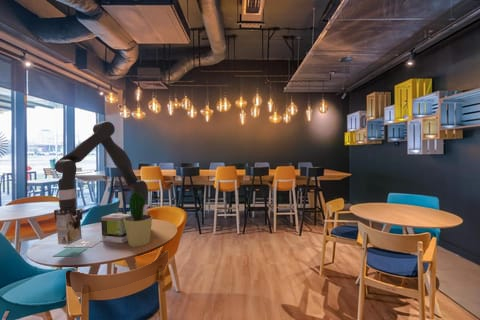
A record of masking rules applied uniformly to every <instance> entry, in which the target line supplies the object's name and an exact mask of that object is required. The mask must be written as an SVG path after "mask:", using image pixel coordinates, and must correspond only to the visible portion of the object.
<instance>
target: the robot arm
mask: <svg viewBox="0 0 480 320" xmlns="http://www.w3.org/2000/svg"><path fill="white" fill-rule="evenodd" d="M115 130H116V129H115V125H114V124H113V123H112V122H110V121H101V122H98V123H96V124H94V125H93V128H92V131H93V134H91V135H90V136H89V137H88V138H86V139H85V140H83V141H81V142H80V143H79V144H78V145H77V146H75V147H74V148H73V149H72V150H71V151H70V152H68V153H67V154H65V155H63V156H62V157H60V159H58V160H57V161H56V162H55V164H54V170H55V172H57V173H59V174H61V175H62V176H61V178H60V179H58V207H59V208H57V209H54V211H53V212H54V220H55V222H57V221H56V214H58V213H65V212H67V213H71V212H72V213H73V214H74V212H76V213H77V215H76V216H73V215H72V219H73V221H74V229H77V228H78V227H79V220H80V221H82V220H83V209H82V208H77V207H76V206H77V194H76V189H75V180H76V179H75V178H76V176H77V175H76V174H77V163H80V162H82V161H83V160H84V159H85V158H86V157H88V156H89V154H90V153H91V152H92V151H93V150H94V149H96V148H97V146H100V144H101V145H102V146H103V148H104V149H105V151H106V153H107V154H108V155H109V158H111V161H112V163H113V164H114V166H115V167H116V169H117V170H118V171H119V173H120V174H121V176H122V177H123V179H124V182H125V183H126V185H127V187H128V190H129V191H130V192H131V193H132V194H134V193H137V192H139V193H140V194H141V195H143V197H144V199H145V206H144V207H143V214H148V210H147V209H148V207H147V206H148V204H147V203H148V197H149V196H148V193H149V192H148V184H147V182H146V181H144V180H140V179H139V178H138V177H137V175H136V174H135V172H134V169H133V164H132V160H131V159H130V157H129V155H128V154H127V152H126V151H125V150H124V149H123V148H122V147H121V146H119V145H118V144H117V143H116V142H115V140H113V138H112V137H111V136H113V135H114V134H115ZM135 191H136V192H135ZM75 217H76V219H75Z"/></svg>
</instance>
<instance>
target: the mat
mask: <svg viewBox="0 0 480 320" xmlns="http://www.w3.org/2000/svg"><path fill="white" fill-rule="evenodd" d="M88 248H89V247H79V248H64V249H63V250H61V251H59V252H58V253H56V254H54V255H52V257H53V258H55V257H58V258H59V257H60V258H61V257H62V258H63V257H65V258H66V257H68V258H69V257H78V255H80V254H82V253H84V252H85V251H86V250H88Z"/></svg>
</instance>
